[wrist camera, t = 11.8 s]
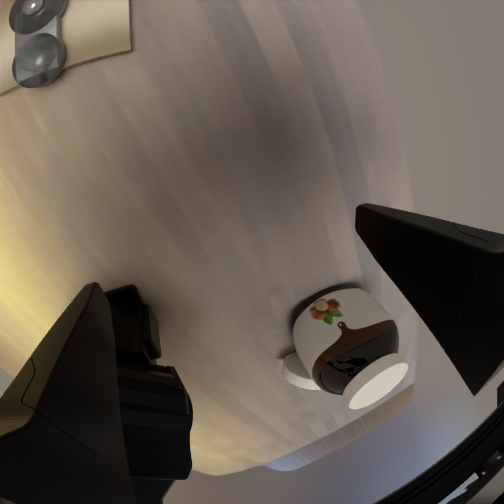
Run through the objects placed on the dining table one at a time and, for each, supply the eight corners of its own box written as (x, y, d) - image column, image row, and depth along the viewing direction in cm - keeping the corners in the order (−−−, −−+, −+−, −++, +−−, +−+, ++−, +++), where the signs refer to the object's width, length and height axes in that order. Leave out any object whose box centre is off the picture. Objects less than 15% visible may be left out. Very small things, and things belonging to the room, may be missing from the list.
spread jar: (362, 270, 32) (428, 340, 22) (356, 333, 38) (403, 395, 29) (263, 311, 30) (313, 405, 20) (276, 368, 36) (314, 443, 27)
